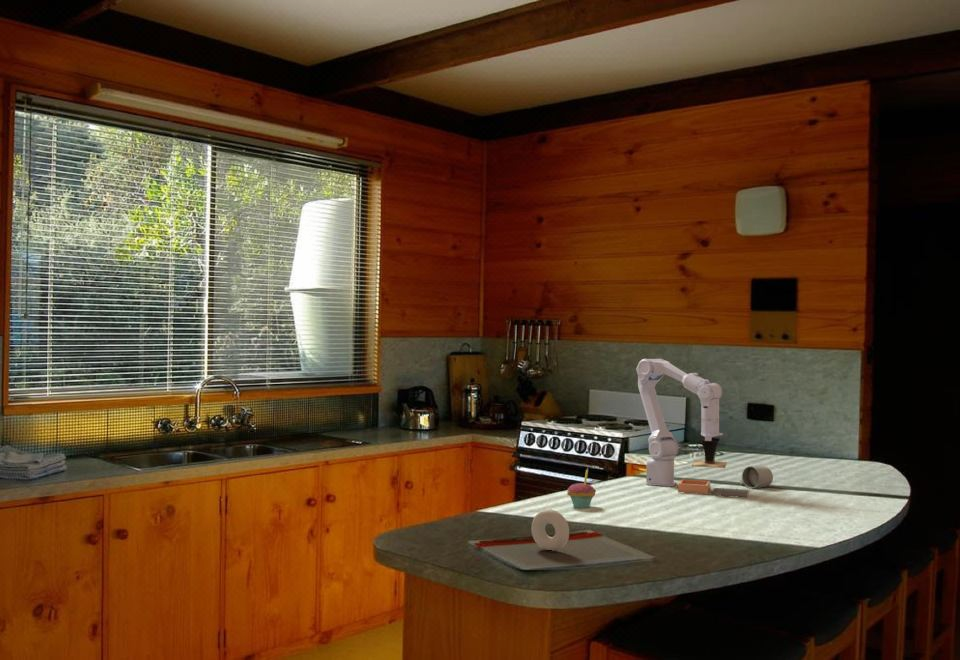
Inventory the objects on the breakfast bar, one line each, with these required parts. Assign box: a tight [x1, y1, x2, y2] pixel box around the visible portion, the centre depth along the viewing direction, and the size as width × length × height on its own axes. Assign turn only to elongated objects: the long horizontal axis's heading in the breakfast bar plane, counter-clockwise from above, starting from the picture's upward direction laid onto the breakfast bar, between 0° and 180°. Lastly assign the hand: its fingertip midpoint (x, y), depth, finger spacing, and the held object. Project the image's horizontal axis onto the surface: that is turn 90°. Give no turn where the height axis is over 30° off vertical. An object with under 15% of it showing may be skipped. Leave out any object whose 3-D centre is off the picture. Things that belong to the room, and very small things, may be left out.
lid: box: [691, 452, 728, 469], centre depth 292 cm, size 10×10×5 cm
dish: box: [677, 478, 711, 495], centre depth 294 cm, size 10×10×3 cm
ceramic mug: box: [739, 465, 774, 490], centre depth 304 cm, size 11×8×8 cm
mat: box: [711, 487, 749, 498], centre depth 291 cm, size 11×13×1 cm
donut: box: [530, 508, 570, 552], centre depth 211 cm, size 10×4×10 cm, turn 56°
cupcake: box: [566, 467, 597, 509], centre depth 266 cm, size 9×8×12 cm
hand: (710, 460), depth 292 cm, fingers closed on lid, 3 cm apart
